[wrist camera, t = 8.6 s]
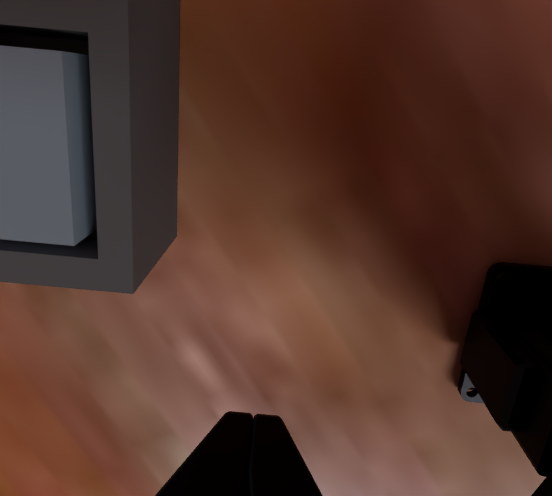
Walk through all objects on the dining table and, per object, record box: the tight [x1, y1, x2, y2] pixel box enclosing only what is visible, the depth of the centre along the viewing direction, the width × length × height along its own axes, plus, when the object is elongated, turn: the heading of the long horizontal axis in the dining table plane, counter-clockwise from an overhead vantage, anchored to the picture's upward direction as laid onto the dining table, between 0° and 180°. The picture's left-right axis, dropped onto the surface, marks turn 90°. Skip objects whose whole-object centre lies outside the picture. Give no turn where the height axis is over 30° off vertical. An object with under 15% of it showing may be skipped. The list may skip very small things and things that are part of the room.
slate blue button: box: [0, 46, 97, 246], centre depth 14 cm, size 5×5×4 cm
